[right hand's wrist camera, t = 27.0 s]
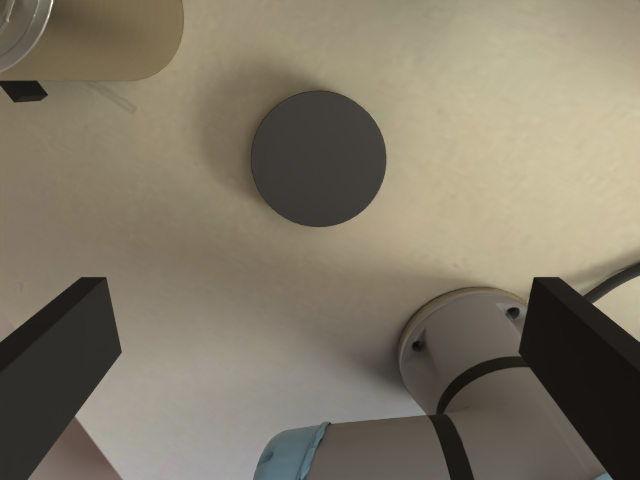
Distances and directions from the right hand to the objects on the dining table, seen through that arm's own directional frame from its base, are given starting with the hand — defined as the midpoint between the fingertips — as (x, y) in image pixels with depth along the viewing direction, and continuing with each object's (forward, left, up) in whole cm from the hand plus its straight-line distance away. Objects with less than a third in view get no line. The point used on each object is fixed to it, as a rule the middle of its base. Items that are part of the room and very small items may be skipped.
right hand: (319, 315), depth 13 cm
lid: (0, 0, -23) cm, 23 cm away
